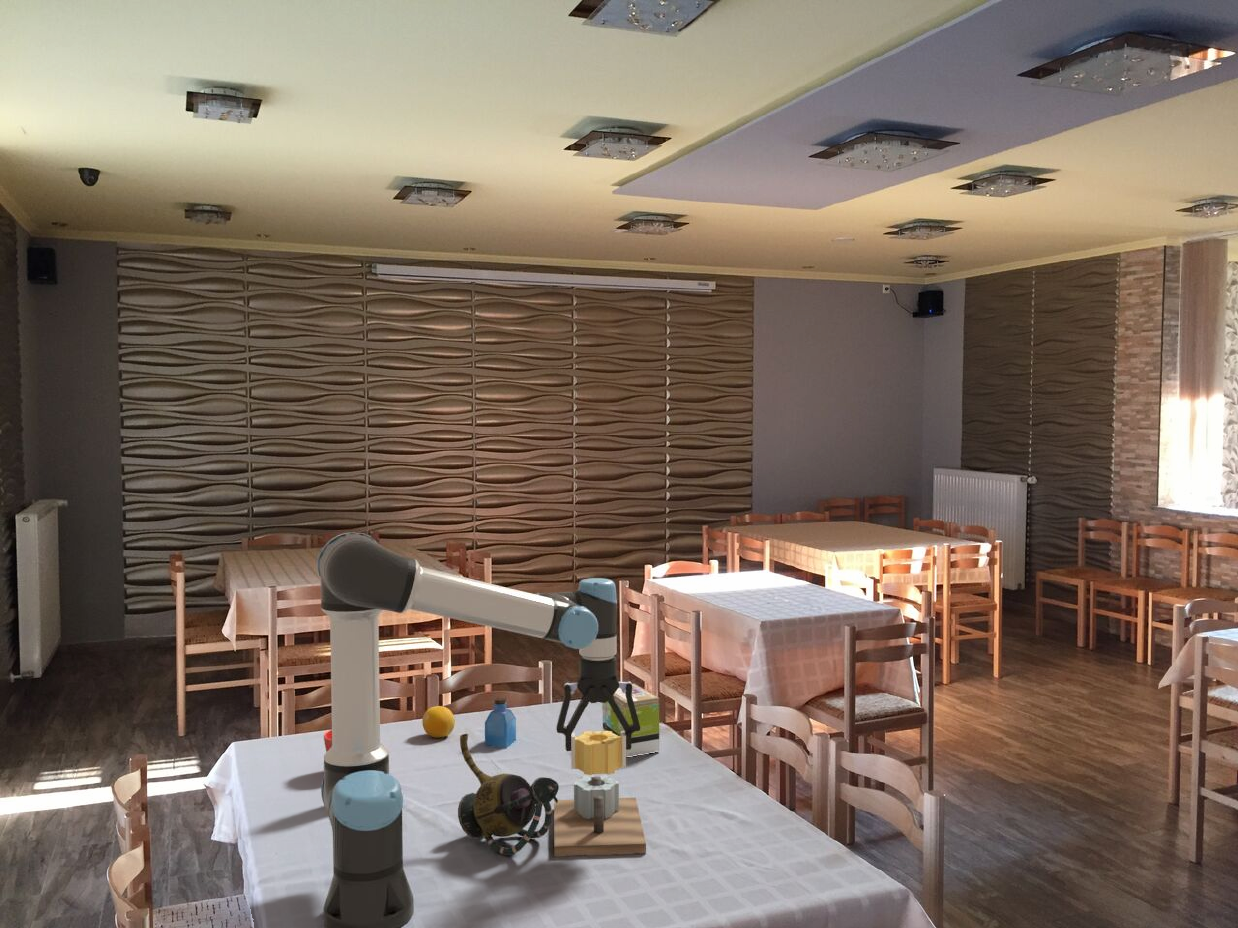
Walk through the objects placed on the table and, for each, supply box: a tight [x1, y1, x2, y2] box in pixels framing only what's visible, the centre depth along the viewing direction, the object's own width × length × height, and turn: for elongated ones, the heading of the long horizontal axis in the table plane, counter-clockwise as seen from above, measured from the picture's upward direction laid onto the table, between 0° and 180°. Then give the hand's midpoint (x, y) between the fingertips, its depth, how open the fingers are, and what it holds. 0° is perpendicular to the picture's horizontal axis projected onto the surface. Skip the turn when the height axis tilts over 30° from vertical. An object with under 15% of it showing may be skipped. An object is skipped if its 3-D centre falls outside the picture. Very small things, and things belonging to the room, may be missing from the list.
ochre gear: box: [574, 730, 623, 776], centre depth 202 cm, size 10×9×6 cm
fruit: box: [422, 705, 455, 739], centre depth 271 cm, size 9×8×8 cm
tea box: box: [601, 683, 661, 757], centre depth 261 cm, size 15×10×15 cm, turn 25°
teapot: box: [457, 733, 560, 856], centre depth 201 cm, size 12×25×23 cm
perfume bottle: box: [484, 696, 517, 749], centre depth 265 cm, size 6×6×12 cm
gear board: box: [553, 775, 647, 857], centre depth 208 cm, size 24×18×9 cm
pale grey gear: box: [573, 774, 620, 819], centre depth 214 cm, size 10×9×6 cm
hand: (598, 765), depth 202 cm, fingers closed on ochre gear, 9 cm apart
